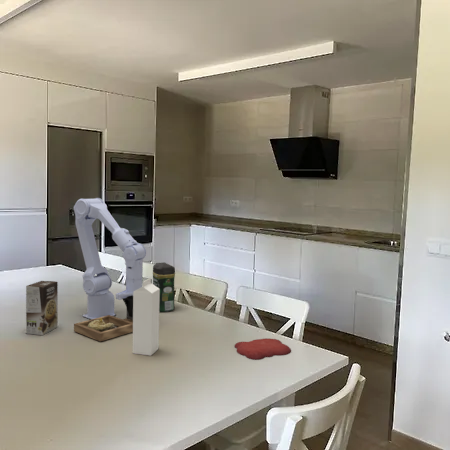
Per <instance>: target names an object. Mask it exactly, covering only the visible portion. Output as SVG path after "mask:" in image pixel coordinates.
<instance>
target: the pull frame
mask: <svg viewBox="0 0 450 450" xmlns="http://www.w3.org/2000/svg"><path fill="white" fill-rule="evenodd" d="M125 316H126V318H119V317H116V316H111V315H107V316H103V317H99V318H95V319H88V320H84V321H80V322H76V323H73V332H76V333H78V334H81V335H83V336H85V337H88V338H91V339H93V340H95V341H99V342H104V341H107V340H110V339H114V338H116V337H120V336H123V335H126V334H130V333H133V317H130V316H129V315H128V310H127V309H126V315H125ZM100 318H102V320H103V321H104V322H105V324H108V323H113V324H115V325H114V326H115V328H114V329H110V330H107V331H103V332H100V331H97V330H94V329H92V328H89V327H88V325H89V323H91V322H93V321H94V320H100Z"/></svg>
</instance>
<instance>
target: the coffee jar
mask: <svg viewBox="0 0 450 450" xmlns="http://www.w3.org/2000/svg"><path fill="white" fill-rule="evenodd" d="M175 269H176V268H175V267H174V266H173V265H171V264H168V263H167V262H156V263H155V264H154V265H153V266H152V284H153V285H155V286H156V287H158V288H159V289H160V297H159V313H160V312H162V313H168V312H171V311H174V310H175V276H176V270H175Z"/></svg>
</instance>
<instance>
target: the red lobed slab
mask: <svg viewBox="0 0 450 450" xmlns="http://www.w3.org/2000/svg"><path fill="white" fill-rule="evenodd" d="M234 348H235V349H236V353H237V354H238V355H240V356H244V357H246V358H247V359H248V360H252V361H253V360H254V361H259V360H260V361H261V360H263V359H265V358H272V357H274V356H278V357H279V356H287V355H289V354H291V352H292V348H290V347H289V345H287V344H284V343H283V342H282V341H281V340H279V339H276V338H260V339H257V338H256V339H253V340H250V341H249V340H248V341H239V342H235V344H234Z"/></svg>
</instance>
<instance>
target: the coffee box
mask: <svg viewBox="0 0 450 450" xmlns="http://www.w3.org/2000/svg"><path fill="white" fill-rule="evenodd" d="M58 286H59V283H58V281H54V280H40V281H37V282H34V283H30V284H28V285H26V287H25V289H26V290H25V292H26V293H25V295H26V297H25V299H26V300H25V308H26V309H25V311H26V312H25V314H26V315H25V316H26V317H25V321H26V322H25V326H26V329H25V334H26V335H27V334H28V335H36V336H44V335H47V334H48V333H49V332H51V331H53V330H56V329H58V326H59V325H58V321H59V319H58V315H59V314H58V311H59V309H58V308H59V307H58V293H59V292H58V290H59V289H58Z"/></svg>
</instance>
